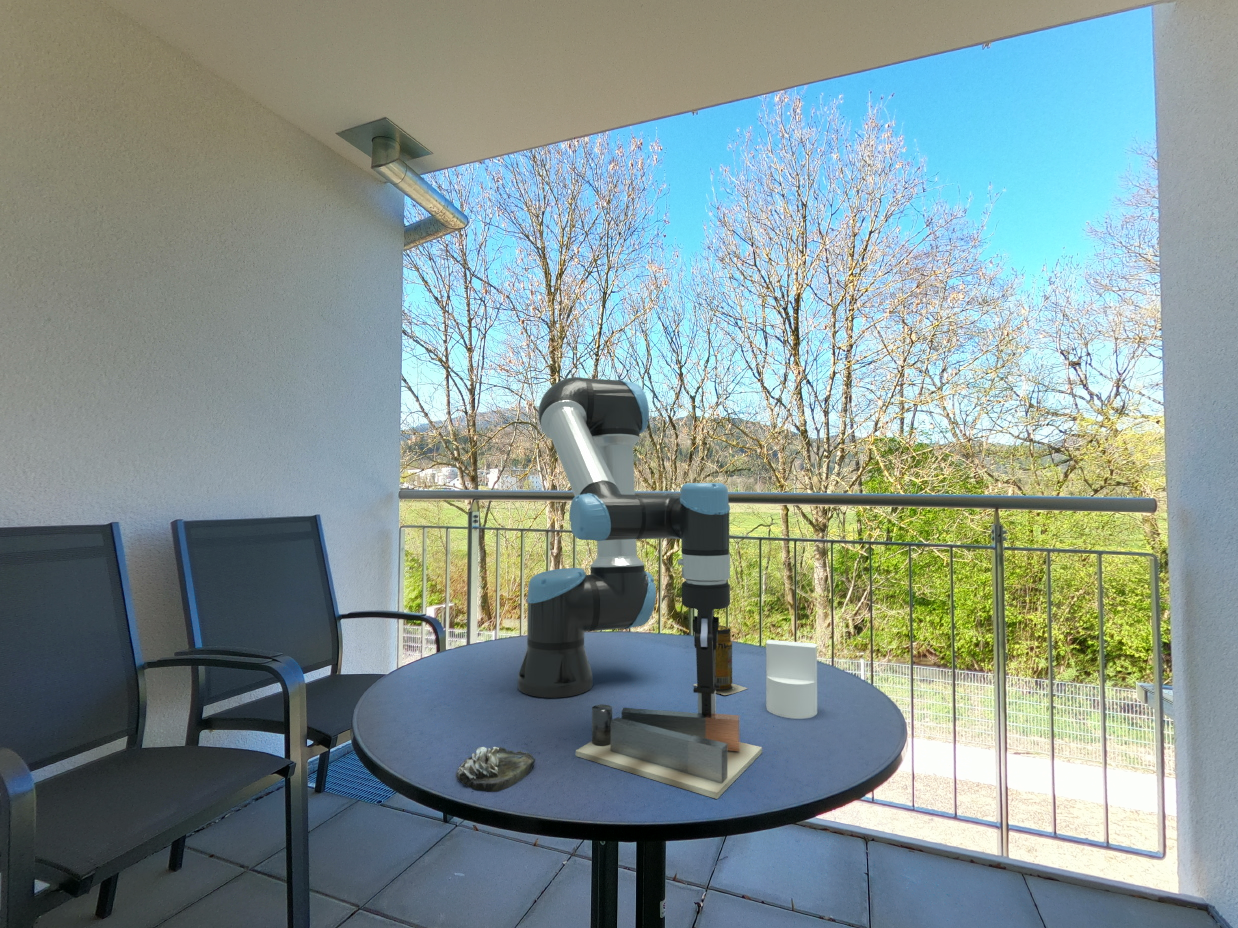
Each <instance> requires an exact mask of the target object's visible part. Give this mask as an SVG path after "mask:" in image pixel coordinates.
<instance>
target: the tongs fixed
mask: <svg viewBox="0 0 1238 928" xmlns="http://www.w3.org/2000/svg"><path fill="white" fill-rule="evenodd" d="M591 741H592V744H594V745H596V746H608V745H610V744H611V746H610V751H611V752H615V753H618V754H621V755H625V756H628V757H632V758H635V759H639V760H642V761H646V762H649V763H653V764H656V765H660V766H663V767H667V768H670V769H674V770H677V771H680V772H684V773H687V774H690V775H693V776H697V777H700V778H703V779H707V780H710V781H714V782H717V783H721V784H722V783H723V782H724V781H725V780H726V779H727V743H723V742H719V741H715V740H711V739H707V738H703V737H699V736H695V735H694V736H691V735H687V734H683V733H679V732H675V731H671V730H667V729H663V728H659V727H655V726H651V725H647V724H643V723H638V722H634V721H630V720H626V719H622V718H621V717H618V716H616V717H615V718H613V707H612V706H611V705H610V704H603V703H602V704H595V705H593V706H592V707H591Z"/></svg>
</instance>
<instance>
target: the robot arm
mask: <svg viewBox="0 0 1238 928" xmlns="http://www.w3.org/2000/svg"><path fill="white" fill-rule="evenodd" d="M649 418H650V409H649V402H648V398H647V395H646V393H645V392H644V390H643V388H642V387H641V386H640V385H639V384H638V383H636V382H633V381H632V382H631V381H625V380H622V379H604V378H603V379H601V378H599V379H598V378H589V377H587V378H586V377H578V376H573V377H567V378H565V379H562V380H560V381H558V382H556V383H554V384H553V385H551V386H550V387H549V388H548V389H547V390H546V392H545V393H544V395H543V396H542V398H541V401H539V406H538V421H539V425H540V428H541V430H542V432H543V434H544V435H545V436H546V437H547V438H548V439H550V440H551V441H552V444H553V446H554V448H555V452H556V454H557V456H558V459H559V460H560V463H561V466H562V468H563V471H564V473H565V476H566V478H567V481H568V482H569V486H570V488H571V490H572V493H573V495H574V497H573V498H572V500H571V503H570V507H569V523H570V531H571V532H572V534H573V536H574V537H575V538H576V539H578V540H580V541H583V540H584V541H594V542H596V550H597V551H596V556H597V557H596V558H595V560H594V561H593V562H592V563H591V564H590V574H586V572H585V570H584V569H583V568H581V567H567V568H566V567H564V568H556V569H551V570H550V569H549V570H546V571H542V572H539V573H537V574H535V575H533V577H531V578H530V580H529V582H528V586H527V587H528V588H527V596H526V603H527V624H526V625H527V627H526V629H527V634H526V637H527V643H526V644H527V645H526V650H525V654H524V657H523V660H522V663H521V667H520V669H519V672H518V675H517V676H518V678H517V688H518V691H520V692H522V693H523V694H525V695H529V696H533V697H536V698H537V697H538V698H550V699H551V698H566V697H572V696H573V697H574V696H578V695H581V694H583V693H584V694H585V693H586V692H588V691H589V690H591V689H592V688H593V671H592V669H591V664H590V662H589V659H588V655H587V652H586V649H585V633H586V632H587V633H588V632H597V631H598V632H600V631H610V630H621V629H623V630H629V629H631V628H633V629H634V628H639V627H643V626H644V625H646V624H647V623H648V621H650V618H651V617H652V615H653V613H654V609H655V607H656V606H655V605H656V601H657V599H656V598H657V588H656V584H655V579H654V577H653V575H652V574H651V573H650V572H648V571H646V570H645V563H644V562H643V561H642V560H641V559H640V558H639V557H638V553H637V548H638V547H637V540H661V539H662V540H663V539H676V540H680V541H681V542H680V543H681V545H680V546H681V547H680V548H681V551H680V553H681V558H679V559H678V560H677V564H678V565H679V566H682V567H681V577H682V578H683V580H684V581H683V582H682V583H681V604H682V605H683V607H685V608H689V609H695V610H696V611H697V615H694V616H693V618H692V631H693V635H694V643H693V644H694V648H695V653H696V654H695V656H696V658H695V659H696V684H697V686H694V687H693V689H692V693H694V694H697V713H702V715H711V713H713V714H717V699H716V698H717V693H716V690H715V689H720V684H718V683H715V680H716V675H715V649H716V648H717V642H718V628H719V625H720V616H715V610H723V609H727V608H728V607H729V606H730V604H731V585H730V584H729V582H728V580H729V579H730V578H731V554H730V510H731V508H730V504H729V489H728V487H727V486H726V485H725V484H724V483H722V482H690V483H689V482H686V483H684V484H683V485H682V486H681V488H680V494H675V493H671V494H670V493H669V494H667V493H662V494H636V492H635V490H636V489H635V488H636V487H635V466H634V465H635V463H634V460H635V459H634V446H635V445H636V444H637V443H638V442H639V441H640V434H643V433H644V432H645V431H646V429H647V427H648V424H649V422H648V420H650V419H649Z"/></svg>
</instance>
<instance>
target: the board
mask: <svg viewBox="0 0 1238 928" xmlns="http://www.w3.org/2000/svg"><path fill="white" fill-rule="evenodd" d="M610 746H611V744H610V745H608V746H596V745H594V744H592V740H591V741H589V742H588V743H586V744H584V745H583V746H581V747H579V748H578V749H576V750H575V757H578V758H581V759H585V760H587V761H591V762H594V763H598V764H601V765H604V766H607V767H611V768H613V769H618V770H621V771H624V772H627V773H631V774H634V775H637V776H640V777H643V778H647V779H650V780H653V781H656V782H660V783H663V784H666V785H669V786H673V787H676V788H679V789H683V790H685V791H689V792H693V793H696V794H699V795H702V796H706V797H709V798H712V799H714V800H715V799H716V800H718V799H719V798H720V797H721V796H722V794H724V793H725V792H726V790H728V788H729V787H730V786H731V785H732V784H733V783H734V782H735V781H736V780H737V779H738V778H739V777H740V776H741V775H742V774H743V773H744V772H745V771H746V770H747V769H748V768H749V767H750V766H751V765H752V764H753V763H754V762H755V760H757V759H758V757H759V756H760V755H762V753H763V747H762V746H759V745H754V744H750V743H746V742H741V741H739V751H729V750H727V779H726V780H725V781H724V782H723V783H722V784H721V783H717V782H714V781H710V780H707V779H703V778H700V777H697V776H693V775H690V774H687V773H684V772H680V771H677V770H674V769H670V768H667V767H663V766H660V765H656V764H653V763H649V762H646V761H642V760H639V759H635V758H632V757H628V756H625V755H621V754H618V753H615V752H611V751H610Z"/></svg>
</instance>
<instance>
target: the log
mask: <svg viewBox="0 0 1238 928" xmlns="http://www.w3.org/2000/svg"><path fill="white" fill-rule="evenodd" d="M475 752H476V753H474V752H472V753H471V756H470V757H469V756H468V757H467V758H466V759H465V760H464V761H463V762H462V763H461V764H460V766H459V767H458V768H457V770H456V773H455V777H456V779H457V781H458V782H460V783H461V784H463V785H465V786H466V788H469V789H472V790H475V791H480V792H491V793H496V792H501V791H503V790H505V789H508V788H510V787H512V786H514V785H515V784H517V783H518V782H520V781H521V780H523V779H524V778H525V777H526V776H528V775H529V774H530V773H531V771H532V769H533V766H534V765H535V762H536V758H534V756H533V755H532V754H531V753H529V752H525V751H524V752H523V751H521V750H517V751H513V750H507V749H506V748H505V747H501V746H500V747H496V746H493V747H492V748H490V747H488V748H487V747H485V746H480V747H478V748H475Z"/></svg>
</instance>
